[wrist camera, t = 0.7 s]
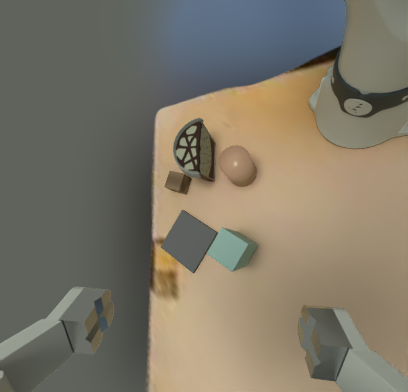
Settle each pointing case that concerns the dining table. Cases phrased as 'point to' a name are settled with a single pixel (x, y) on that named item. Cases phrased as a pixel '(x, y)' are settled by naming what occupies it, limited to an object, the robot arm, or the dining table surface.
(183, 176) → the walnut cube
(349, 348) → the robot arm
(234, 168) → the tan rounded cylinder
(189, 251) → the mat
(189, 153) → the food container
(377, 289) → the dining table surface
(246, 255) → the tall green rectangular block
